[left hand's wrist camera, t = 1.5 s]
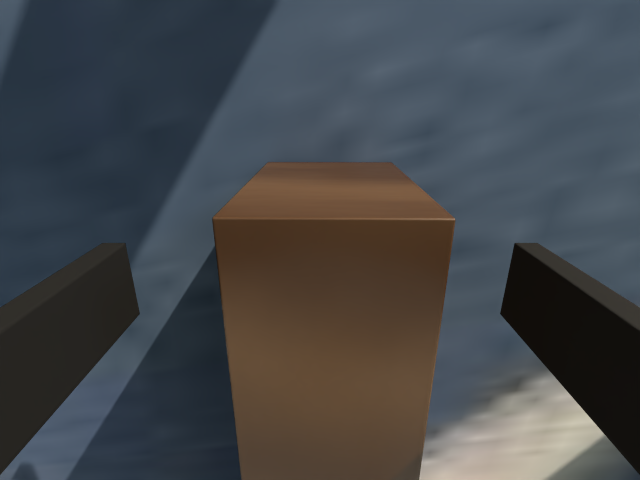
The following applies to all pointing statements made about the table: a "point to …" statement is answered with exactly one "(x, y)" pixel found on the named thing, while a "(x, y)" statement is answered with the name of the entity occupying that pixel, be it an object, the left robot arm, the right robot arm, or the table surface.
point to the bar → (332, 318)
